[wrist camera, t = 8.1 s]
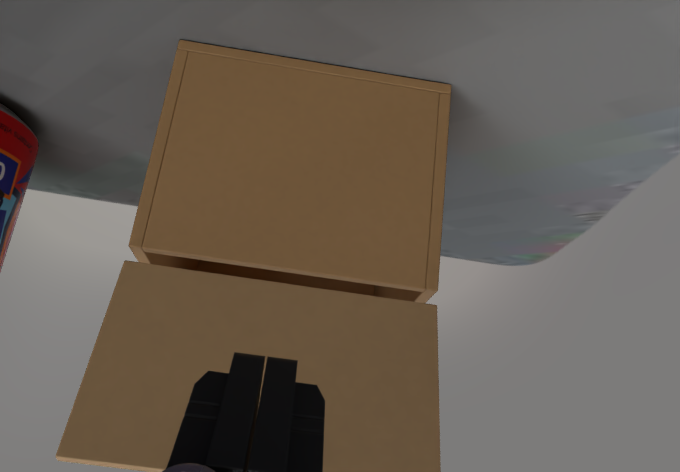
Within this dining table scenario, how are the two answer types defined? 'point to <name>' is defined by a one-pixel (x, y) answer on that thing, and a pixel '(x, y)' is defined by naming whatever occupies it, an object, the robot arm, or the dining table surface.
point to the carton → (297, 174)
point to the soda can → (13, 171)
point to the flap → (266, 340)
